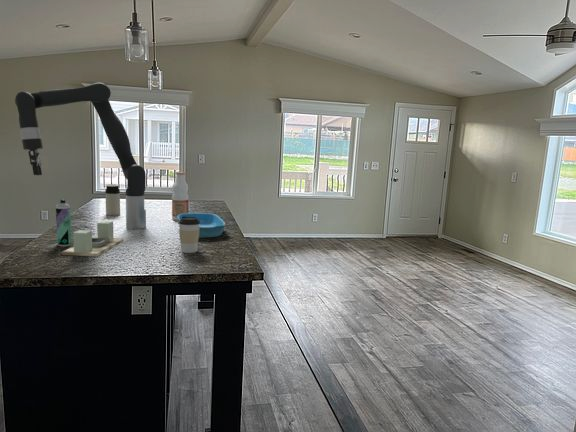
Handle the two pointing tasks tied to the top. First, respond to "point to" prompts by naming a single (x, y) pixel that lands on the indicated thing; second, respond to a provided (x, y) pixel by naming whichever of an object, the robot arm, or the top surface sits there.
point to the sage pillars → (85, 237)
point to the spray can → (63, 224)
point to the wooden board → (94, 249)
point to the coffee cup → (189, 234)
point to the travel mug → (112, 199)
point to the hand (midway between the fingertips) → (38, 175)
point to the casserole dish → (207, 224)
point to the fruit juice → (179, 196)
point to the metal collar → (99, 242)
